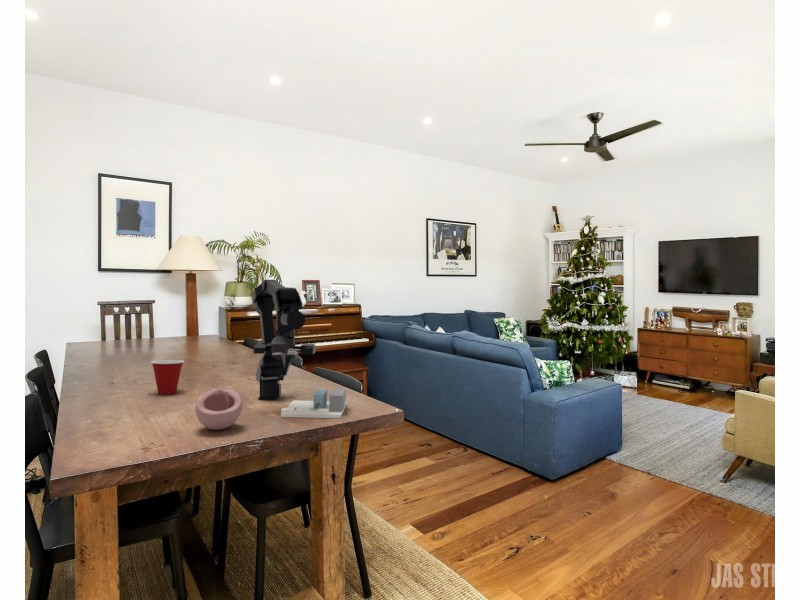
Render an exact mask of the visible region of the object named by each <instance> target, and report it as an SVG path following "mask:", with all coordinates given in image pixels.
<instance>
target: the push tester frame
mask: <svg viewBox="0 0 800 600" xmlns="http://www.w3.org/2000/svg"><path fill="white" fill-rule="evenodd" d="M346 390H347V389H346V388H342V389H341V388H333V389H332V391H331V392H330V394H329V395H328V396H329V400H327V404H326V406H325V407H324V409H318V408H313V405H314V400H292V401H291V402H290V404H289V405H288V406H287V407H282V409H281V410H280V413H281V414H280V417H281V418H310V419H313V418H315V419H316V418H318V419H322V418H323V419H341V418H342V416H343V413H344V411H345V409H346V407H347V405H348V403H347V402H348V401H346V397H347V396H346V395H347V394H346Z"/></svg>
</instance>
